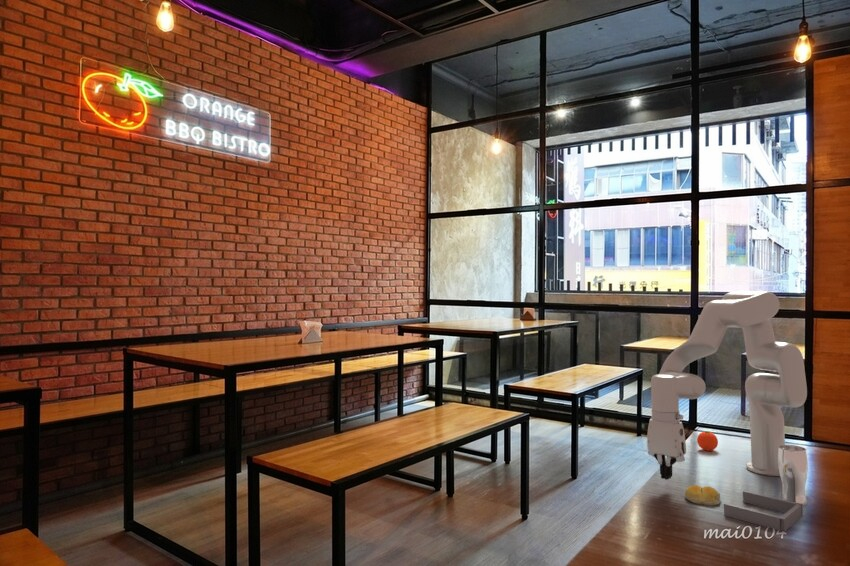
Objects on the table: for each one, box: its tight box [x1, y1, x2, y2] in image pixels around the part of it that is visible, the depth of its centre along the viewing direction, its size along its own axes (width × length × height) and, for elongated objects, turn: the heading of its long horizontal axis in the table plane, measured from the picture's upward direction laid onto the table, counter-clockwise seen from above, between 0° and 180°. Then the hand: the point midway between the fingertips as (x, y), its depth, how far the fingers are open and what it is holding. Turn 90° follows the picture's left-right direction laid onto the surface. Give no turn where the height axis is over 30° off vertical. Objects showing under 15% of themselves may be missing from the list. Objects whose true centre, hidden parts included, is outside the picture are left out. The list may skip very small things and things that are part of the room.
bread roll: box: [684, 484, 721, 506], centre depth 157 cm, size 8×9×4 cm
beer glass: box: [778, 444, 809, 507], centre depth 154 cm, size 7×7×15 cm
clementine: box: [696, 430, 719, 452], centre depth 204 cm, size 8×7×7 cm
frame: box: [723, 490, 804, 532], centre depth 145 cm, size 14×14×3 cm
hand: (666, 477), depth 164 cm, fingers closed
